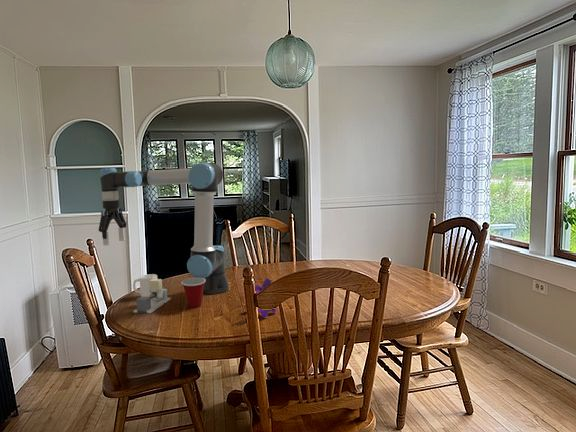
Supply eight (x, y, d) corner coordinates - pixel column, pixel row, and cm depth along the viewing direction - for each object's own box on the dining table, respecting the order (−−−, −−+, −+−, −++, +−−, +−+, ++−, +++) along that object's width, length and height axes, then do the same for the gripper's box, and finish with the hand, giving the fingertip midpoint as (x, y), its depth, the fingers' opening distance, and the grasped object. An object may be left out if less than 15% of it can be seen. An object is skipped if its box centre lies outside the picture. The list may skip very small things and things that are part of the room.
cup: (155, 298, 211) (154, 278, 210) (130, 299, 211) (129, 278, 210) (160, 293, 219) (159, 273, 218) (136, 294, 219) (135, 274, 218)
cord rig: (155, 298, 210) (154, 286, 209) (170, 299, 209) (169, 287, 208) (133, 312, 190) (132, 299, 190) (150, 313, 189) (149, 299, 188)
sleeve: (154, 297, 205) (153, 278, 205) (163, 297, 205) (162, 279, 204) (150, 299, 202) (148, 281, 201) (159, 299, 201) (158, 281, 200)
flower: (242, 329, 180) (265, 319, 173) (227, 296, 182) (249, 285, 175) (262, 319, 192) (284, 308, 185) (248, 287, 194) (270, 276, 187)
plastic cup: (180, 310, 191) (179, 283, 190) (184, 303, 202) (183, 277, 201) (205, 309, 192) (204, 282, 191) (208, 301, 203) (206, 276, 201)
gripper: (118, 198, 225) (121, 238, 227) (87, 202, 200) (92, 247, 203) (131, 197, 223) (134, 238, 226) (102, 201, 199) (106, 247, 201)
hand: (114, 242), depth 214 cm, fingers open, 13 cm apart
